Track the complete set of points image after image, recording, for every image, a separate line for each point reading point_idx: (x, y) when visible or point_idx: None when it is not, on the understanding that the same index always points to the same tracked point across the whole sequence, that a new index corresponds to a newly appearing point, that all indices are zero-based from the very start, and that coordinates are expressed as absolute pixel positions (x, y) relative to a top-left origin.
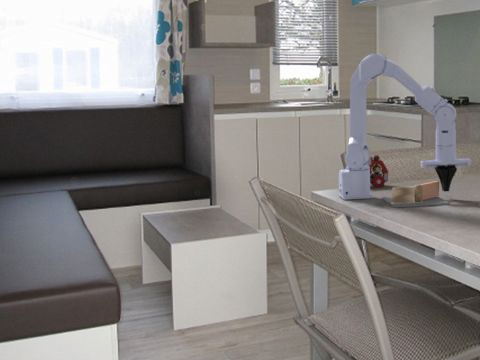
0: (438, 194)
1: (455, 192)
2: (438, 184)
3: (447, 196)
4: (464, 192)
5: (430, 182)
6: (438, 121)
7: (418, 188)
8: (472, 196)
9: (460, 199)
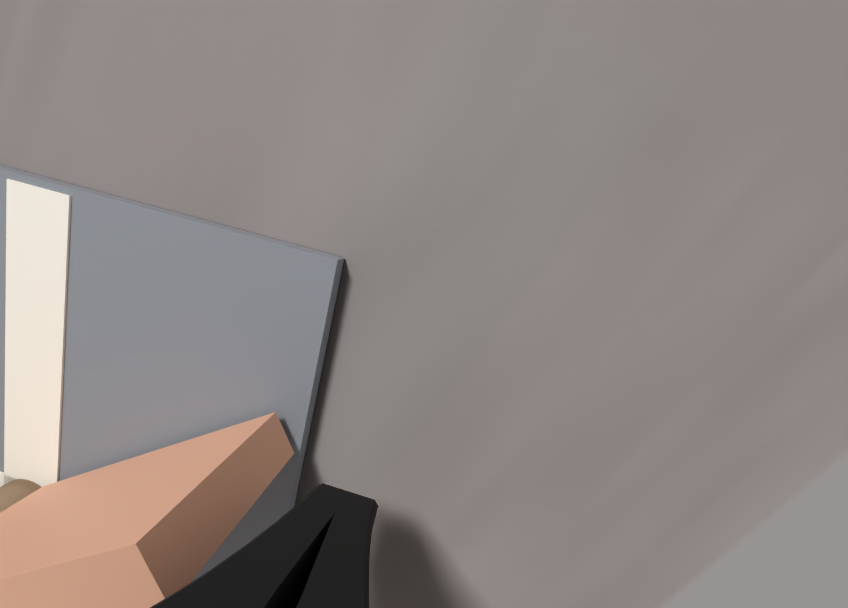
0: (274, 468)
1: (738, 194)
2: (193, 566)
3: (464, 372)
4: (844, 261)
5: (3, 605)
6: None
7: None
8: (705, 526)
9: (476, 572)
